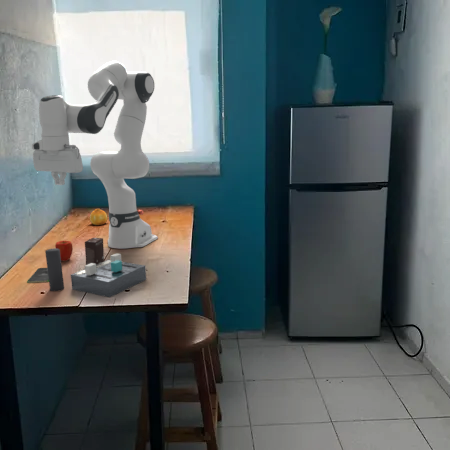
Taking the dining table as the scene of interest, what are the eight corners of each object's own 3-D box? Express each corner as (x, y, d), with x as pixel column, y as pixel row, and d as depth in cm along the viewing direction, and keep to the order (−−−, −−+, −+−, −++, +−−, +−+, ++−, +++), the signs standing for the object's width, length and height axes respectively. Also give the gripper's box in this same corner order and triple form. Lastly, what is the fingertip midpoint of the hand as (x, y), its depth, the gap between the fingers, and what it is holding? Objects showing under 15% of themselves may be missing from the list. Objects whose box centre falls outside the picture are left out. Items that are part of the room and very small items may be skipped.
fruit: (96, 222, 255) (100, 207, 258) (84, 222, 260) (88, 207, 262) (108, 228, 262) (112, 212, 264) (96, 227, 266) (100, 212, 268)
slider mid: (117, 268, 175) (116, 260, 174) (122, 269, 174) (121, 260, 173) (111, 271, 173) (110, 262, 172) (116, 272, 172) (115, 263, 171)
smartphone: (25, 281, 180) (38, 267, 194) (26, 284, 180) (38, 270, 195) (48, 280, 180) (59, 266, 195) (49, 283, 180) (59, 269, 195)
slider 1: (92, 271, 173) (91, 263, 172) (96, 272, 172) (96, 263, 171) (85, 274, 170) (84, 265, 169) (90, 275, 169) (89, 266, 168)
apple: (77, 258, 206) (75, 239, 204) (65, 263, 201) (63, 243, 199) (65, 256, 209) (63, 238, 208) (53, 260, 204) (51, 242, 202)
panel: (110, 273, 188) (108, 259, 186) (146, 279, 180) (145, 264, 179) (72, 289, 173) (70, 274, 171) (109, 297, 165) (108, 281, 164)
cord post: (57, 285, 177) (52, 247, 173) (67, 287, 174) (62, 249, 171) (47, 290, 173) (42, 251, 170) (57, 291, 171) (52, 253, 168)
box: (98, 275, 186) (95, 242, 183) (86, 274, 187) (83, 241, 184) (106, 270, 191) (103, 237, 188) (94, 269, 192) (92, 237, 190)
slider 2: (116, 261, 183) (116, 253, 182) (121, 262, 182) (120, 254, 181) (111, 264, 180) (110, 255, 180) (115, 264, 179) (114, 256, 179)
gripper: (85, 144, 179) (88, 185, 182) (42, 143, 189) (46, 181, 193) (71, 145, 174) (75, 187, 177) (28, 144, 184) (32, 184, 187)
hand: (60, 184), depth 185 cm, fingers closed
